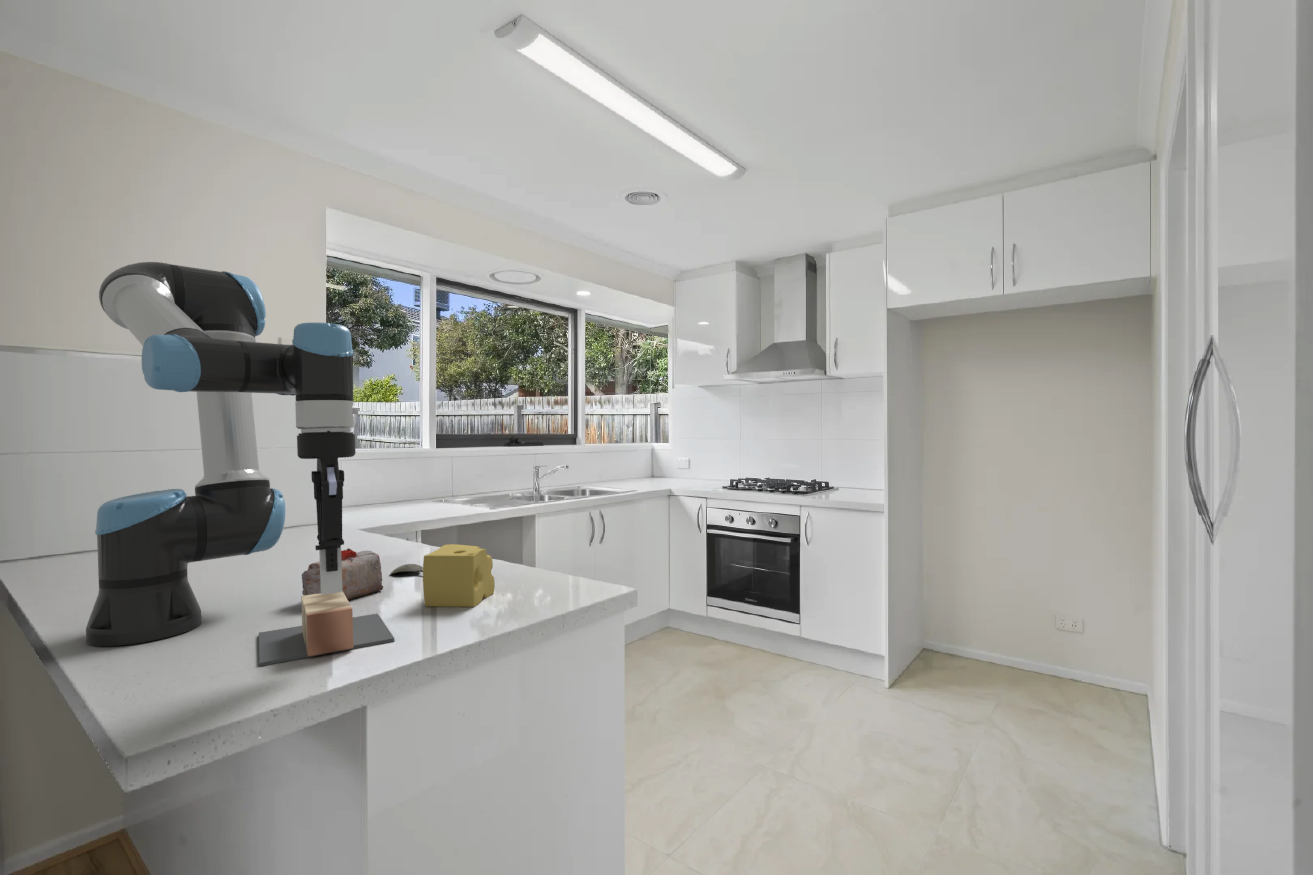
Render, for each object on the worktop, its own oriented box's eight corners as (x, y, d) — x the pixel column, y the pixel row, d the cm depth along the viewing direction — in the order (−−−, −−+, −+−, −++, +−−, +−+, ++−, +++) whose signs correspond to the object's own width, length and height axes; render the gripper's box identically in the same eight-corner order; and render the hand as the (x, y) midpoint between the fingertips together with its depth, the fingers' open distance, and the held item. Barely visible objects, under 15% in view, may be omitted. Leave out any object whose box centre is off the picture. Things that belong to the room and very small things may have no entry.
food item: (325, 609, 118) (324, 557, 118) (298, 604, 122) (297, 553, 121) (386, 591, 130) (385, 544, 130) (360, 587, 134) (359, 541, 134)
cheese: (495, 593, 128) (494, 543, 127) (474, 608, 117) (473, 555, 117) (445, 592, 129) (444, 543, 128) (420, 608, 118) (419, 554, 118)
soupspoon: (407, 573, 151) (384, 581, 145) (406, 559, 151) (382, 566, 145) (476, 579, 140) (453, 587, 134) (474, 564, 140) (452, 572, 134)
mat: (259, 666, 90) (259, 662, 90) (258, 635, 103) (258, 632, 103) (394, 641, 99) (394, 637, 99) (377, 616, 113) (377, 613, 113)
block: (306, 615, 92) (301, 595, 103) (308, 656, 92) (302, 632, 103) (352, 608, 95) (342, 590, 106) (353, 647, 95) (343, 625, 106)
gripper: (361, 429, 88) (366, 597, 89) (348, 430, 99) (353, 579, 100) (299, 431, 84) (305, 606, 85) (293, 431, 95) (299, 587, 96)
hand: (331, 592), depth 92 cm, fingers closed
